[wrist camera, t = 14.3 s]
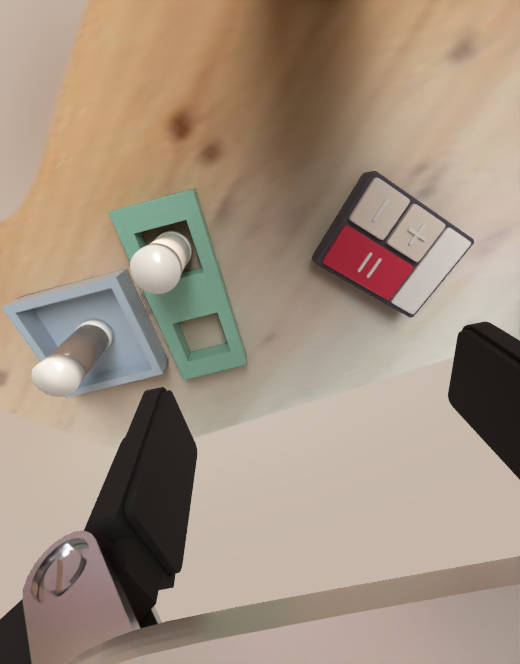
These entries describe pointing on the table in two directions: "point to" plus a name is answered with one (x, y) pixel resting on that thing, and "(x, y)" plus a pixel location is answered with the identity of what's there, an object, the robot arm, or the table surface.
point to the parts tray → (93, 303)
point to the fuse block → (185, 283)
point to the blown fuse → (73, 358)
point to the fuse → (161, 262)
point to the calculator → (391, 245)
